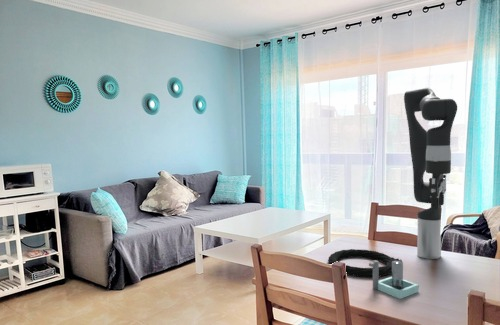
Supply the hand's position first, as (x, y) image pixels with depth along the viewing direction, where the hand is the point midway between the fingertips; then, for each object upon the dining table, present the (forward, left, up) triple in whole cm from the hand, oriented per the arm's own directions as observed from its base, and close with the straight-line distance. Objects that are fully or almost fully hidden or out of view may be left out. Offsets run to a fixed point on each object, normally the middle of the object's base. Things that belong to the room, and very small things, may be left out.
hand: (437, 206), depth 122 cm
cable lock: (-1, -32, -31) cm, 44 cm away
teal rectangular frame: (+10, -9, -30) cm, 33 cm away
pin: (+9, -9, -30) cm, 33 cm away
